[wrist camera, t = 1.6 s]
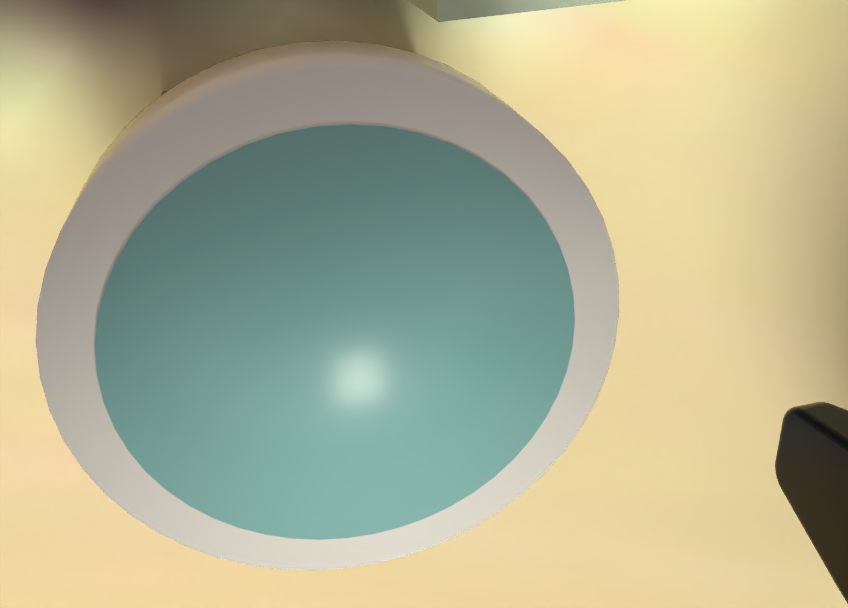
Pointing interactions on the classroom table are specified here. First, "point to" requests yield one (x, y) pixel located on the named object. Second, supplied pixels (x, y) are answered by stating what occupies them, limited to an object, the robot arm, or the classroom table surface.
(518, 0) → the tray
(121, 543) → the classroom table surface
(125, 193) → the disc
